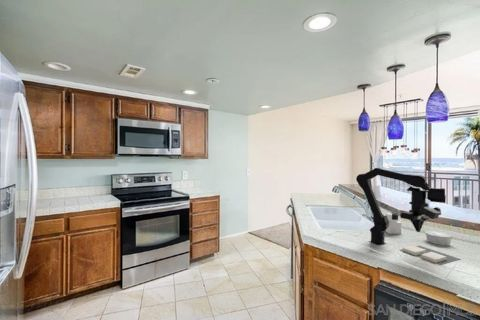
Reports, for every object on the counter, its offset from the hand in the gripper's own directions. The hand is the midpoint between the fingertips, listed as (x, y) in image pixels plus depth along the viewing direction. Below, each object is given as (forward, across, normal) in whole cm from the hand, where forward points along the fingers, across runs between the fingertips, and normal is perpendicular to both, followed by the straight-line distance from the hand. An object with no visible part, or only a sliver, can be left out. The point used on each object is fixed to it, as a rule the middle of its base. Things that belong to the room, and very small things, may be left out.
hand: (418, 231), depth 118 cm
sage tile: (+9, +1, 0) cm, 9 cm away
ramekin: (+11, +24, +4) cm, 27 cm away
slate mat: (+10, +1, -4) cm, 11 cm away
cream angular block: (+9, +2, -8) cm, 12 cm away
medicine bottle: (+11, +18, +26) cm, 34 cm away
